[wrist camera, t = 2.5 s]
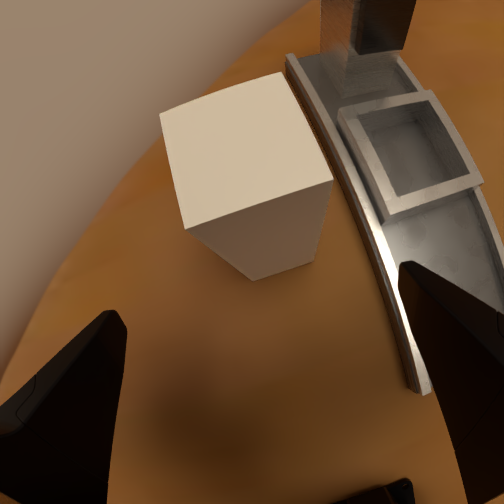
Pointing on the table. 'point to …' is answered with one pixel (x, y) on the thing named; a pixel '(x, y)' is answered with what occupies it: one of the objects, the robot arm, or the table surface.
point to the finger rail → (397, 161)
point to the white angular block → (249, 175)
